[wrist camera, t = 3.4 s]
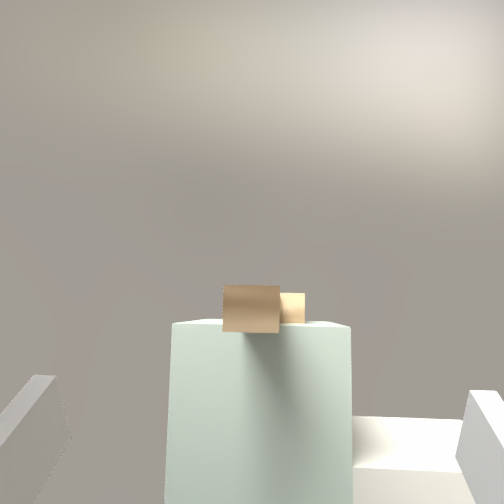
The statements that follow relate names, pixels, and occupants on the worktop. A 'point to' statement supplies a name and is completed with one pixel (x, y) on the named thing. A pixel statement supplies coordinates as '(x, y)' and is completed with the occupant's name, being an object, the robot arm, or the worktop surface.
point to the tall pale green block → (292, 425)
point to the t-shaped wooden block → (260, 308)
